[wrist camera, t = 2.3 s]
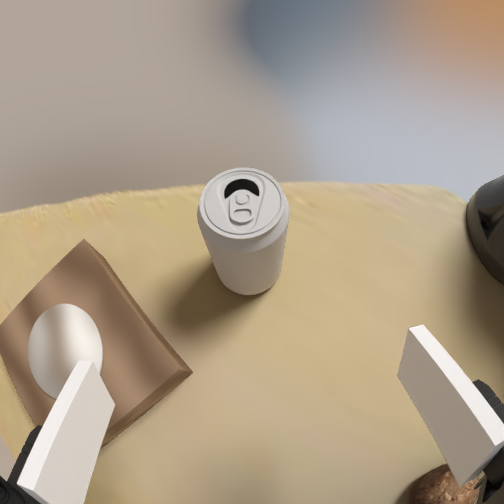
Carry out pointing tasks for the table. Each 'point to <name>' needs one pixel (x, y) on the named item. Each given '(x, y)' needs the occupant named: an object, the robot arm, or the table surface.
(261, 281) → the beverage can
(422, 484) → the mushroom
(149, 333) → the pedestal
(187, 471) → the table surface
